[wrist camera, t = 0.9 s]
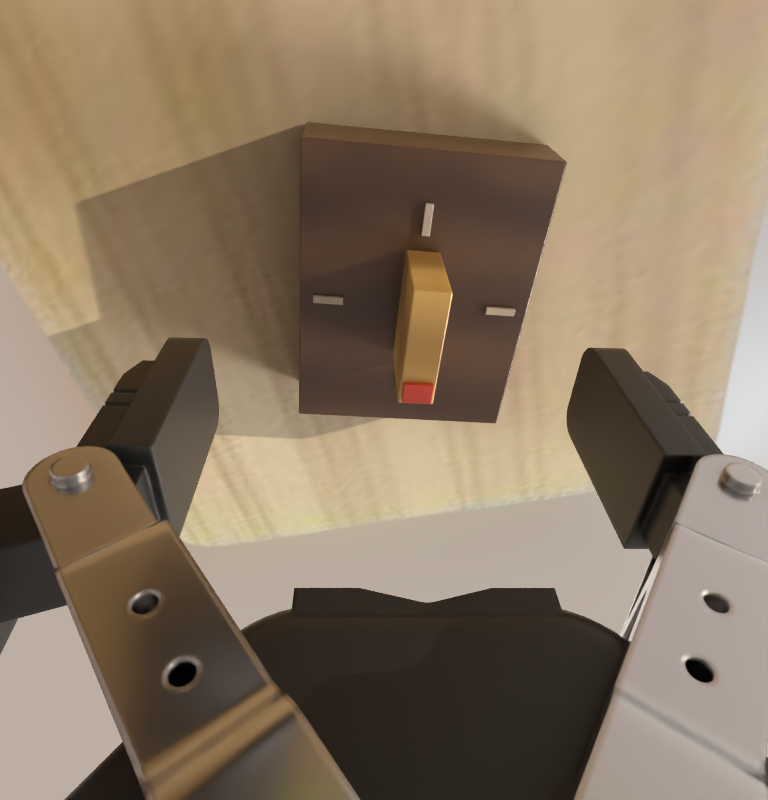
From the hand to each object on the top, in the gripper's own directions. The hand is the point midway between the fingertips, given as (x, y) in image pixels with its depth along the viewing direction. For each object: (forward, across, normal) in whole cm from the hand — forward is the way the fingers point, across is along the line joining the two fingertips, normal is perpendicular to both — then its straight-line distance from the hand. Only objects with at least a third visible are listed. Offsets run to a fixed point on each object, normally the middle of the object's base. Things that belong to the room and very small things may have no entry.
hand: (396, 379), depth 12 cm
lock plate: (+17, -2, +5) cm, 18 cm away
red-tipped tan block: (+14, -2, +5) cm, 15 cm away
